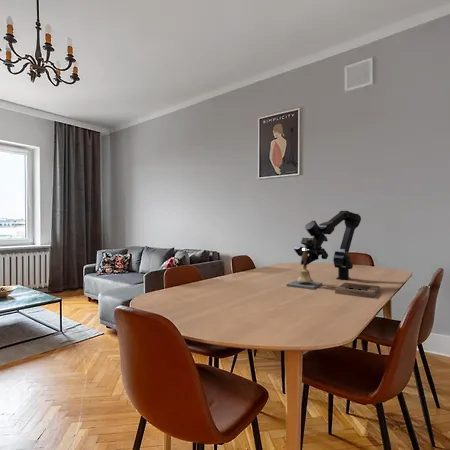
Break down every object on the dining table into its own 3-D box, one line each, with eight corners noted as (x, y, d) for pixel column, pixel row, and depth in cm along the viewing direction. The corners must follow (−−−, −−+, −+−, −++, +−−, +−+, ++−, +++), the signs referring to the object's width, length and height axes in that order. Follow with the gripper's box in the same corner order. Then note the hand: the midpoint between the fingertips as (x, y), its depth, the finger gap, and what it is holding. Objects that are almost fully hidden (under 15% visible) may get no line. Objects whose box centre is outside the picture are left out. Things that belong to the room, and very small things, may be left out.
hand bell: (305, 279, 168) (305, 249, 168) (316, 281, 160) (316, 250, 160) (293, 280, 164) (293, 250, 164) (303, 283, 157) (303, 251, 157)
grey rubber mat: (297, 281, 172) (296, 279, 172) (322, 284, 164) (322, 282, 164) (286, 286, 161) (286, 284, 161) (313, 289, 153) (313, 287, 153)
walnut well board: (345, 286, 159) (345, 282, 159) (379, 290, 150) (379, 286, 150) (335, 293, 145) (335, 288, 145) (372, 297, 135) (372, 293, 135)
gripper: (296, 231, 172) (282, 253, 166) (324, 232, 156) (310, 256, 150) (305, 244, 176) (292, 266, 170) (334, 247, 161) (320, 270, 155)
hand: (303, 264), depth 161 cm, fingers closed on hand bell
